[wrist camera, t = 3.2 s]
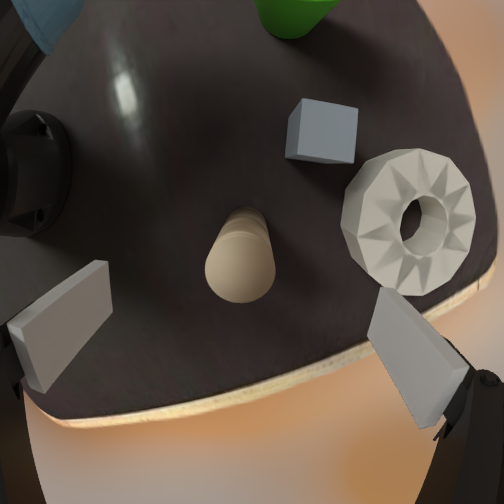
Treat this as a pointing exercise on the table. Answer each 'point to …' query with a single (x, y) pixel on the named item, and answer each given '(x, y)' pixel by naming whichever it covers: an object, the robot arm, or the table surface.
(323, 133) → the square peg
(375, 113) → the table surface
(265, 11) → the cup
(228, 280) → the dowel
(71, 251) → the table surface
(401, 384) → the robot arm
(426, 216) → the socket
